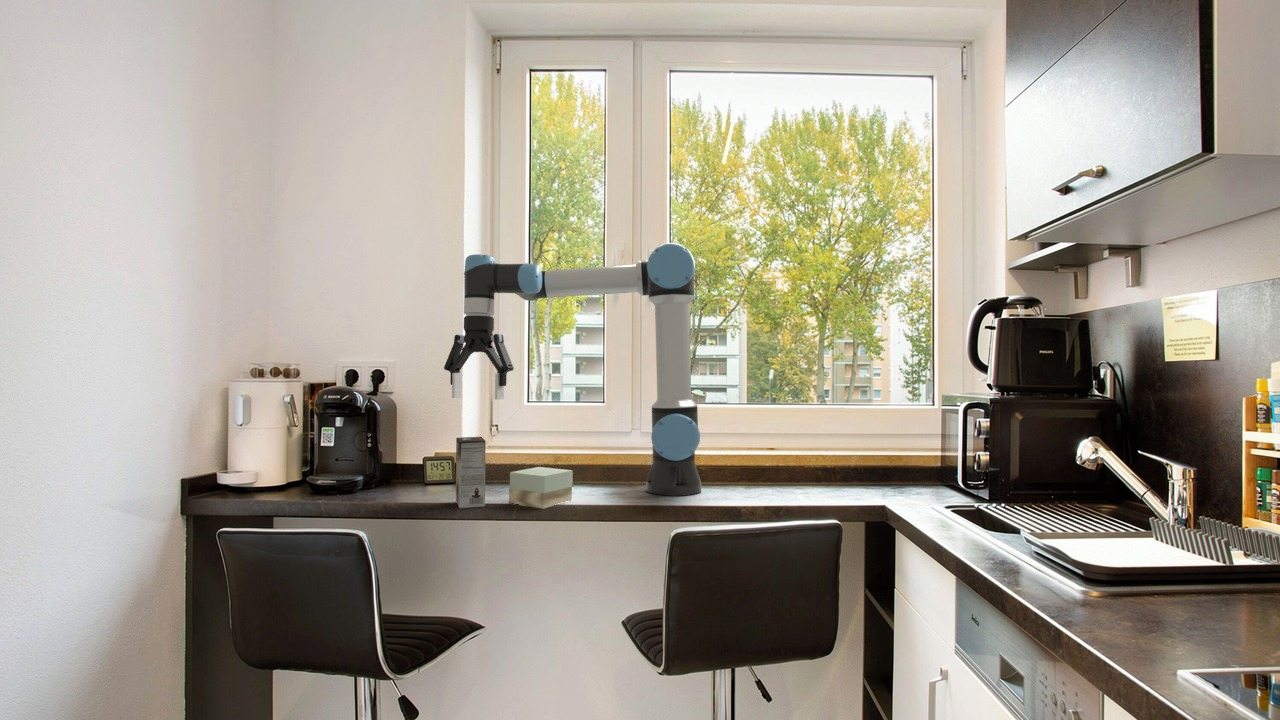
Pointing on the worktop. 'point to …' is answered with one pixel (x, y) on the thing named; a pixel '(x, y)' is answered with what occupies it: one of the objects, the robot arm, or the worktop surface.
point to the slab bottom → (540, 497)
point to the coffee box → (470, 472)
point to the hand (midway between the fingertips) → (477, 398)
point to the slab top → (541, 479)
